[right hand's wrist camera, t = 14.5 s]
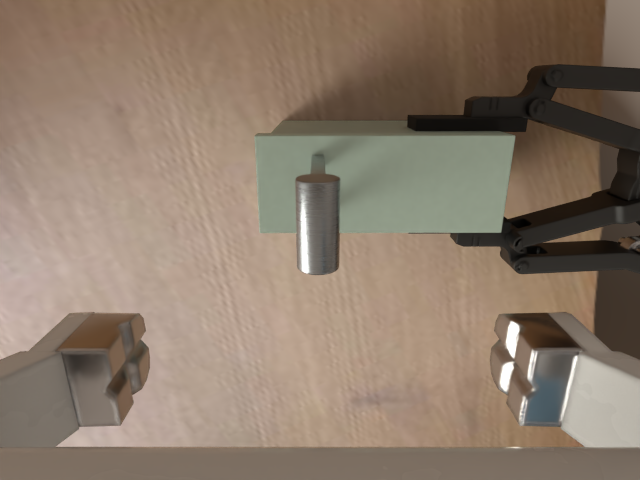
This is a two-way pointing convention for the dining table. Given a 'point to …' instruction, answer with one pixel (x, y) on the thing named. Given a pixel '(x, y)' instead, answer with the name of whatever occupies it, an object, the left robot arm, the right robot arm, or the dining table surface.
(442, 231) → the lid
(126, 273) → the dining table surface
